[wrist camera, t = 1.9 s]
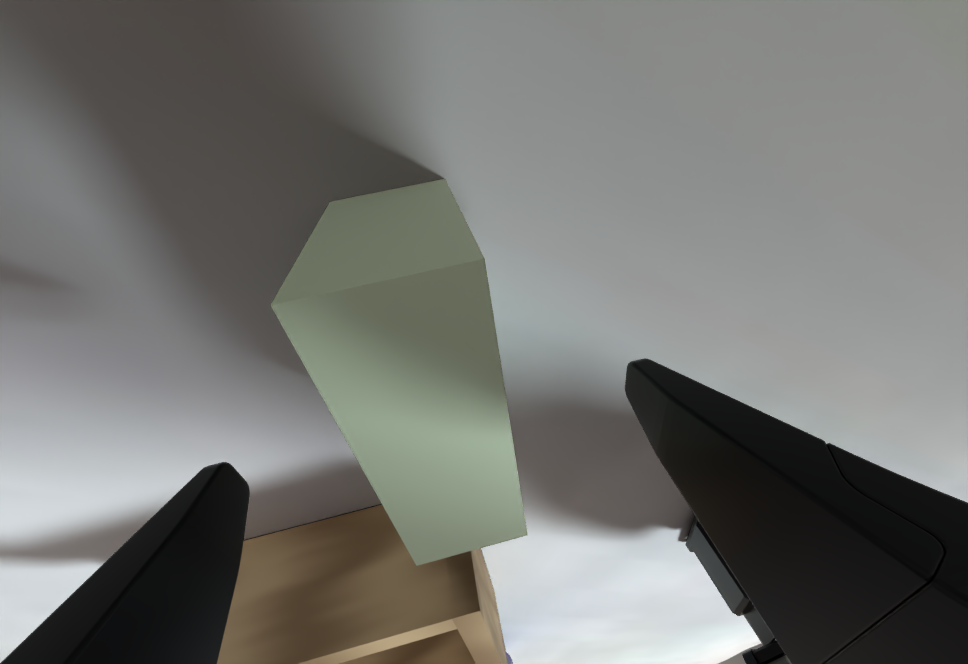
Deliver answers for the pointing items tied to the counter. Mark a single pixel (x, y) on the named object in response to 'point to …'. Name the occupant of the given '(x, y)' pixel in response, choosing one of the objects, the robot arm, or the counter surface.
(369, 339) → the pale green block
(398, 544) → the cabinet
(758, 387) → the counter surface
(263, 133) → the counter surface
